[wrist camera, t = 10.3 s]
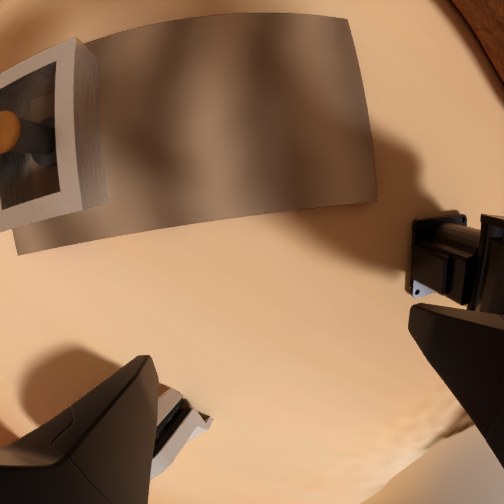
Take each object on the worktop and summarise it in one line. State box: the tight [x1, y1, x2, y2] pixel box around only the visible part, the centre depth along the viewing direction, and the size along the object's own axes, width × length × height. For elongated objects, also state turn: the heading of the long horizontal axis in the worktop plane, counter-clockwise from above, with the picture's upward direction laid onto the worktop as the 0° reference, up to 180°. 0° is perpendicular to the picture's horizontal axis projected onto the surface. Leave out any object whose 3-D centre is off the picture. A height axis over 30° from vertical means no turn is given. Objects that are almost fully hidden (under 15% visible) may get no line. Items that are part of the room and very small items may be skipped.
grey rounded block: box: [150, 388, 213, 480], centre depth 18 cm, size 17×5×10 cm, turn 131°
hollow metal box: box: [0, 37, 109, 232], centre depth 13 cm, size 7×10×4 cm
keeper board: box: [0, 13, 377, 255], centre depth 13 cm, size 26×14×8 cm, turn 97°
